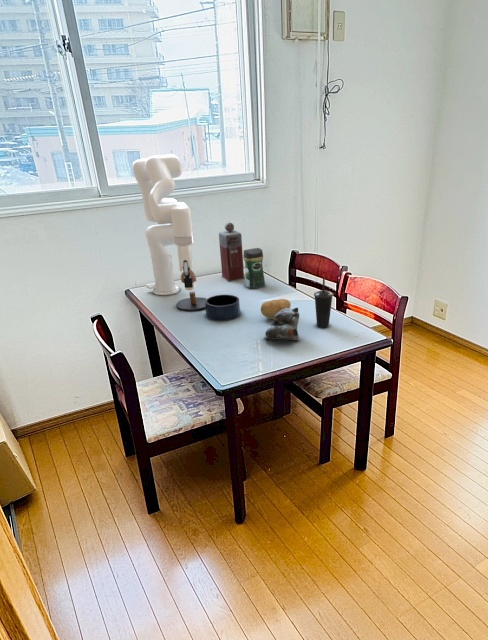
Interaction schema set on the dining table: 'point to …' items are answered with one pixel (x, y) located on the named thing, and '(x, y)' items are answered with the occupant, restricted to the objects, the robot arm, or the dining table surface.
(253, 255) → the coffee jar
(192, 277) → the mushroom
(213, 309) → the pan
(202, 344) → the dining table surface
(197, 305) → the pan lid
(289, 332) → the lucky cat figurine
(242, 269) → the vintage gas pump model
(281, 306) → the potato
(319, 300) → the drinking cup
